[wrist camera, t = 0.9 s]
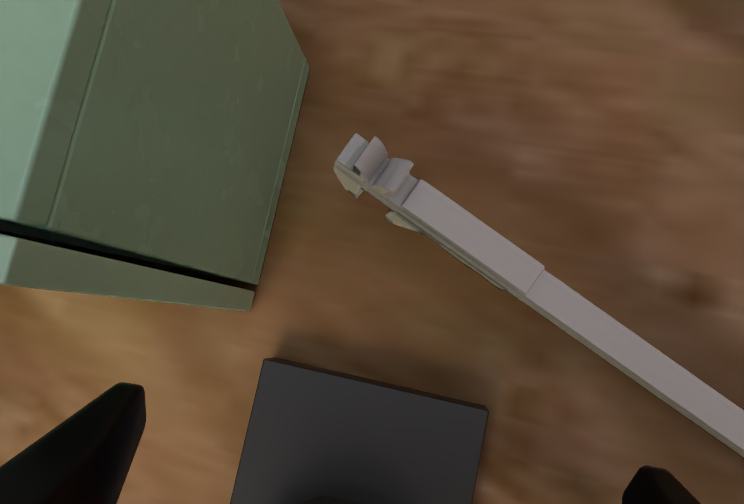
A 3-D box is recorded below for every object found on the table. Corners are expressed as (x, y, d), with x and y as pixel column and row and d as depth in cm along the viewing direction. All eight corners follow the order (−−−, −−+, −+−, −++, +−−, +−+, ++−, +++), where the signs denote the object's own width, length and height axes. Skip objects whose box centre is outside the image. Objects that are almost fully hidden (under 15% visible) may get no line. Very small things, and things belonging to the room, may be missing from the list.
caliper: (346, 195, 21) (310, 139, 15) (362, 172, 22) (333, 108, 15) (854, 535, 18) (1076, 642, 12) (872, 507, 18) (1101, 599, 12)
